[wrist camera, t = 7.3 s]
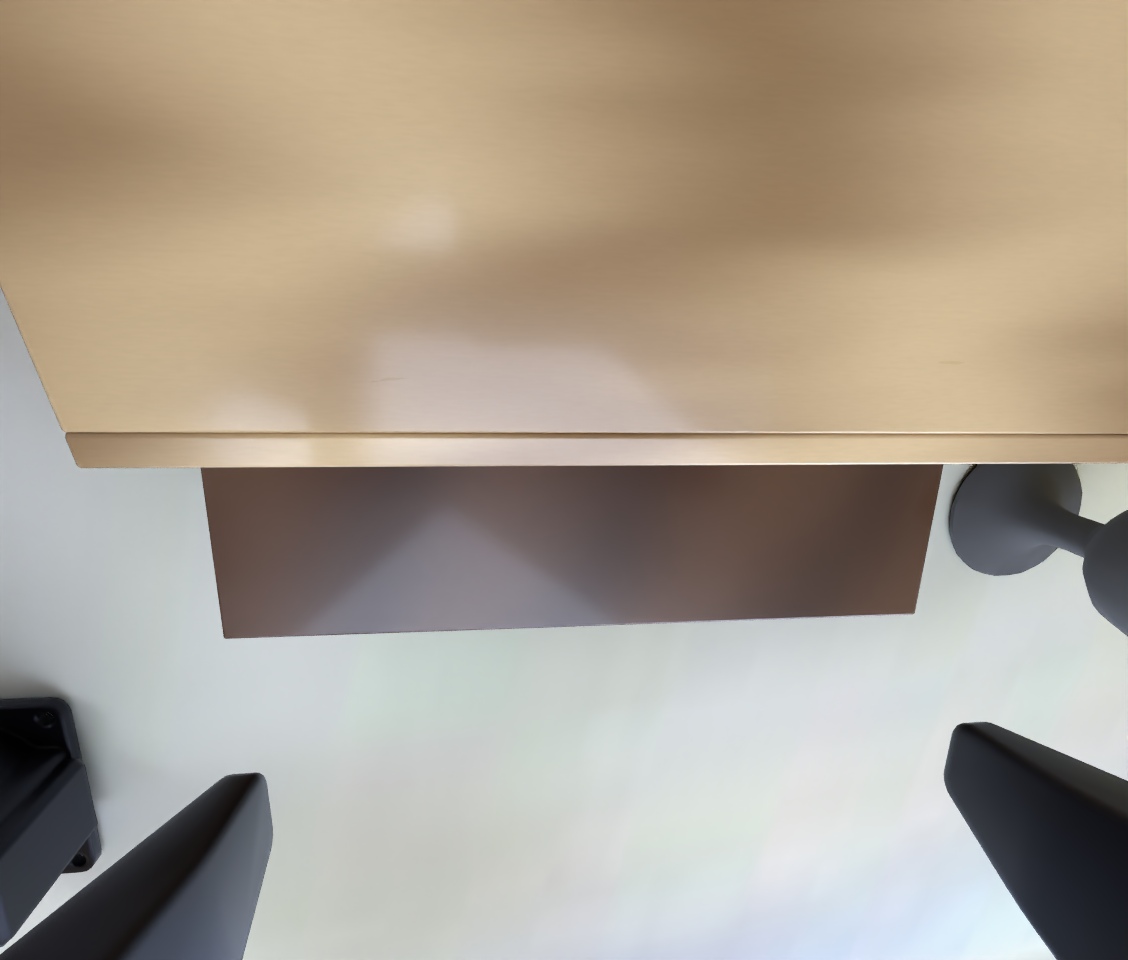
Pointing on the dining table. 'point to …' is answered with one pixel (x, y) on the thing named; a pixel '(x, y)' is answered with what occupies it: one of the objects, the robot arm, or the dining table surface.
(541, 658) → the dining table surface
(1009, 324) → the wooden box
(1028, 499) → the sundae
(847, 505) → the stand
